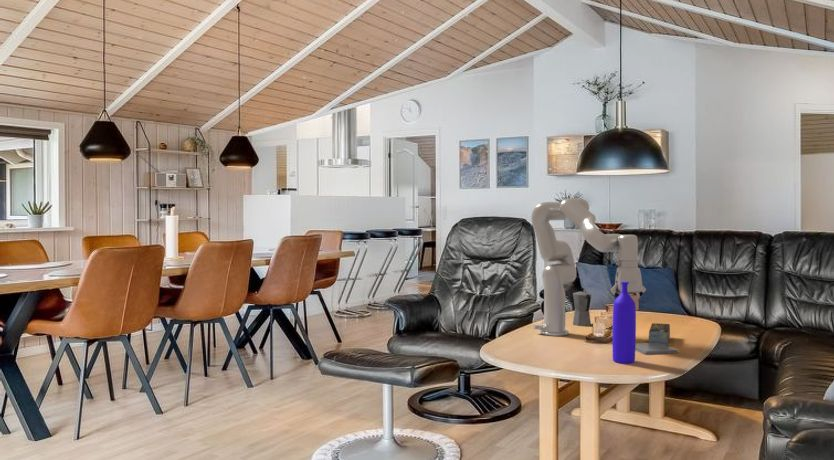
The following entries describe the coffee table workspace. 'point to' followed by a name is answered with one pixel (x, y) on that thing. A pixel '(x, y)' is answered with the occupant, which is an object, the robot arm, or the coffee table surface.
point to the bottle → (624, 327)
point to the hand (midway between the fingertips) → (628, 307)
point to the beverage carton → (659, 333)
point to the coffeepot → (582, 308)
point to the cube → (635, 300)
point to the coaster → (654, 348)
